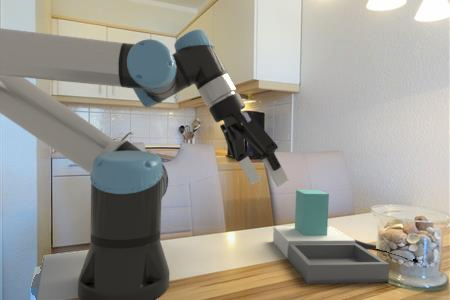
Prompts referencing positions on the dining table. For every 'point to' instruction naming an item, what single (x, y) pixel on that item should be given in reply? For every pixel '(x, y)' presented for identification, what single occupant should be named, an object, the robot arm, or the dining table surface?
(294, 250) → the tray
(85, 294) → the robot arm
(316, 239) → the white flat box
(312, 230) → the block
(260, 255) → the dining table surface
